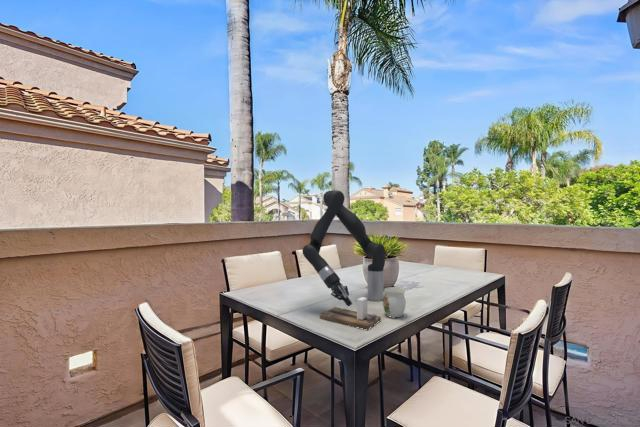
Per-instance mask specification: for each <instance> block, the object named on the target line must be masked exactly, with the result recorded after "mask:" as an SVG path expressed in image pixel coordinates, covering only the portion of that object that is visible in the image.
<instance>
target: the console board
mask: <svg viewBox="0 0 640 427" xmlns="http://www.w3.org/2000/svg"><path fill="white" fill-rule="evenodd" d="M319 319H321V320H323V321H328V322H333V323H336V324H340V325H344V326H348V325H349V326H348V327H352V326H354V327H353V328H356V327H359V328H358V329H360V328H363V329H362V330H364V329H369V328H370V327H372V326H373V325H374V324H376V323H377V322H378V321H380V320H382V318H381V316H378V315H377V314H373V313H372V314H370V313H367V317H366V318H365V319H363V320H361V319H357V310H356V311H355V310H351V309H346V308H342V307H338V306H334V307H332V308H330V309H327V310H326V311H324V312H322V313H320V314H319ZM380 322H381V321H380ZM377 324H378V323H377ZM377 324H376V325H377ZM373 327H374V326H373ZM373 327H372V328H373ZM370 329H371V328H370ZM370 329H369V330H370Z"/></svg>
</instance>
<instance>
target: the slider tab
mask: <svg viewBox="0 0 640 427" xmlns="http://www.w3.org/2000/svg"><path fill="white" fill-rule="evenodd" d="M356 312H357V319H361V320H363V319H365V318H366V317H367V314H368V297H363V296H361V297H359V298H357V299H356Z"/></svg>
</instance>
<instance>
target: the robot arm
mask: <svg viewBox="0 0 640 427" xmlns="http://www.w3.org/2000/svg"><path fill="white" fill-rule="evenodd" d="M322 199H323V203H324V205H325V206H326V210H325V212H324V213H323V214H322V216H321V217H320V219H319V220H318V221H317V222H316V224H315V226H314V227H313V229H312V231H311V234H310V237H309V238H310V240H309V241H310V242H309V244H306V245H304V246H303V247H302V251H301V252H302V255H303V256H304V258H305V259H306V261H307V262H308V263H309V264H310V265H311V266H312V267H313V269H314V270H315V271H316V272H317V274H318V275H319V278H320V279H321V280H322V282H323V283H324V285H326V287H327V288H328V289H330V290H331V291H332V292H331V293H330V295H331V296H332V297H334V298H335V299H337V300H339V301H343V302H344V303H345V305H346V306H347V307H350V306H351V305H352V304H353V302H352V301H351V300H350V298H349V296H350V294H349V289H348V286H347V285H343V283H341V278H340V277H339V275H338V274H337V273H336V271H335V270H334V269H333V268H332V267H331V266H330V265H329V263H328V262H327V261H326V260H325V258H323V257H322V256H321V254H320V251H321V248H322V245H323V242H324V239H325V237H326V235H327V233H328V230H329V228H330V225H331V223H332V222H333V220H334V219H335V217H337V219H338V220H339V221H340V222H341V224H342V225H343V226H344V227H345V229H346V230H347V231H348V233H350V235H351V236H352V237H353V239H354V240H355V241H356V242H357V243H358V245H359V246H360V249H362V251H363V252H364V254H365V255H366V256H367V257H368V258H370V259H372V260H371V263H369V264H368V265H367V300H369V301H371V302H372V301H373V302H382V301H383V298H384V267H385V265H386V248H385V246H384V245H383V244H381V243H377V242H374V241H372V240H371V239H370V238H369V236H368V235H367V231H366V227H365V225H364V223H363V222H362V220H361V219H360V218H359V217H358V216H357V215H356V214H355V213H353V212H352V211H350V210H349V208H347V207H346V206H345V205H344V202H345V194H344V193H343V192H342V191H341V190H337V189H336V190H328V191H325V193H323V198H322ZM381 300H382V301H381Z"/></svg>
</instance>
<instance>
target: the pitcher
mask: <svg viewBox="0 0 640 427" xmlns="http://www.w3.org/2000/svg"><path fill="white" fill-rule="evenodd" d="M405 292H406V290H405V289H404V288H402V287H397V286H396V287H395V286H394V287H393V286H391V287H385V288H383V300H382V301H383V302H382V304H383V309H384V312H385V314H386V315H387V317H388V316H391V317H400V316H401V317H402V316H403V315H404V312H405V310H406V298H405ZM391 317H390V318H391ZM401 317H400V318H401Z"/></svg>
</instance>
